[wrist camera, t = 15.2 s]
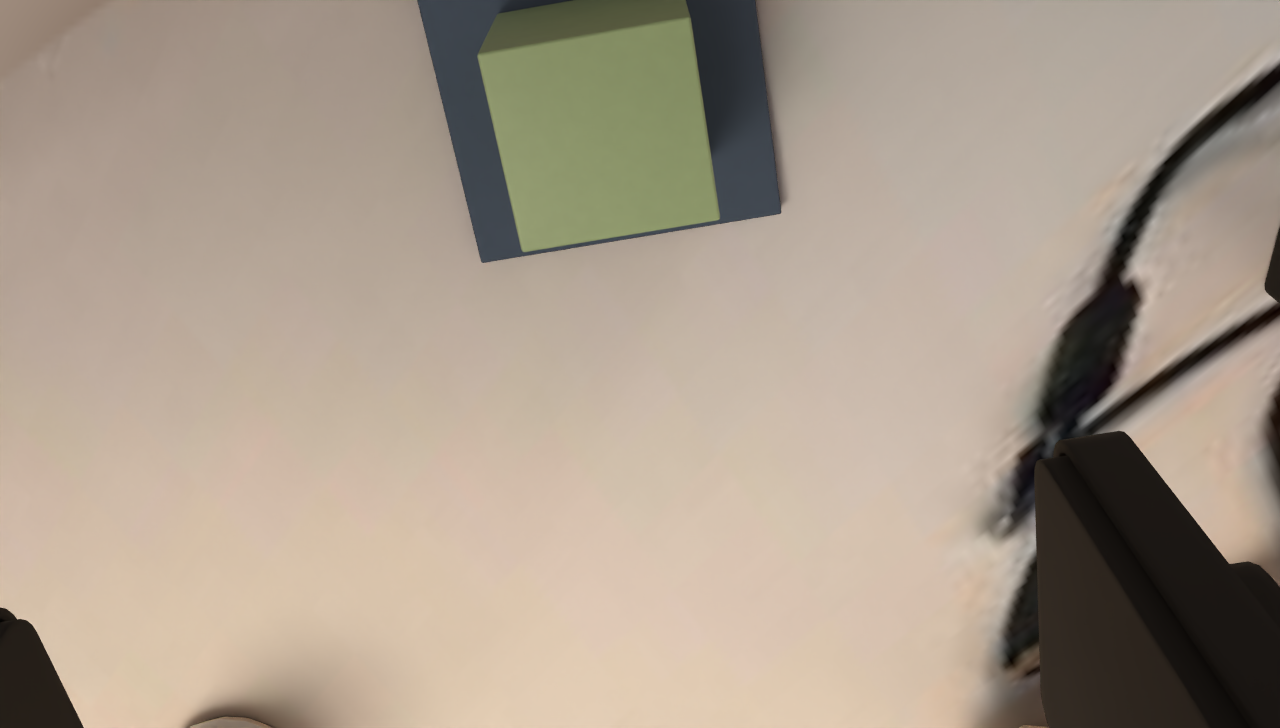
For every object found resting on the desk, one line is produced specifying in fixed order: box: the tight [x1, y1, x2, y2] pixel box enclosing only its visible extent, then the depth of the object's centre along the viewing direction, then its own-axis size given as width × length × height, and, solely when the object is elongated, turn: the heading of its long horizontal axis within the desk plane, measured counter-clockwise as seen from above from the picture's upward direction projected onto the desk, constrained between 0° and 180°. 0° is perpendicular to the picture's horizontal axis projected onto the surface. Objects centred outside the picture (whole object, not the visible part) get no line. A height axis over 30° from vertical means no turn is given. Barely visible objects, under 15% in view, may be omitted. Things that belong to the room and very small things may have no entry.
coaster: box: [417, 0, 781, 263], centre depth 30 cm, size 8×8×1 cm
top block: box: [477, 0, 720, 252], centre depth 28 cm, size 4×4×4 cm
